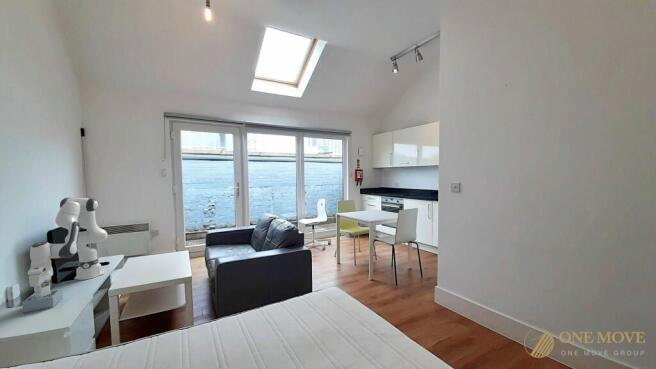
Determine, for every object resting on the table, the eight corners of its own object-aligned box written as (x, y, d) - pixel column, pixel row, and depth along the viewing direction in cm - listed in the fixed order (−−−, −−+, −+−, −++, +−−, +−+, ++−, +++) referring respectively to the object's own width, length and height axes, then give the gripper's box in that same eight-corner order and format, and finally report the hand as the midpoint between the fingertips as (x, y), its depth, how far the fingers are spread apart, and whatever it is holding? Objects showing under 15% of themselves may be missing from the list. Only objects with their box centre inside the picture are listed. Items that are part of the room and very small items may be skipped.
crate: (34, 303, 168) (33, 293, 168) (62, 298, 175) (62, 288, 174) (22, 313, 156) (22, 302, 156) (53, 307, 163) (52, 296, 162)
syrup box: (41, 299, 162) (39, 277, 161) (34, 299, 163) (32, 277, 162) (52, 295, 167) (51, 274, 167) (45, 294, 168) (44, 273, 168)
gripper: (42, 263, 172) (44, 283, 172) (25, 273, 154) (27, 295, 154) (55, 261, 175) (56, 281, 175) (40, 271, 157) (42, 292, 158)
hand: (42, 287), depth 165 cm, fingers closed on syrup box, 8 cm apart
